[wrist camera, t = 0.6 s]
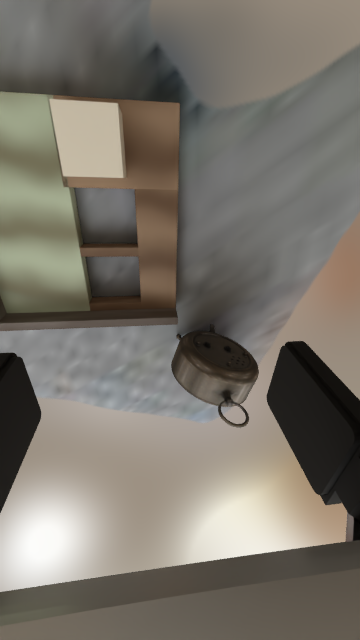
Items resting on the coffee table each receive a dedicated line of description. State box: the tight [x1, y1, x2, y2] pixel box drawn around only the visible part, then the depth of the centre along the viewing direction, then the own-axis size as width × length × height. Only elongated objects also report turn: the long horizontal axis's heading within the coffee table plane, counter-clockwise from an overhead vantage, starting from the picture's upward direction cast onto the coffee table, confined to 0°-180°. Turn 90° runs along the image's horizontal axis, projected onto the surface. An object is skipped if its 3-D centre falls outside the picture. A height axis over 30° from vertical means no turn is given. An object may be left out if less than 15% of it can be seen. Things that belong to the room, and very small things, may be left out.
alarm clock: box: [171, 324, 259, 428], centre depth 32 cm, size 11×5×16 cm, turn 71°
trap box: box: [0, 92, 180, 331], centre depth 27 cm, size 22×22×4 cm
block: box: [49, 99, 126, 178], centre depth 22 cm, size 5×5×4 cm
